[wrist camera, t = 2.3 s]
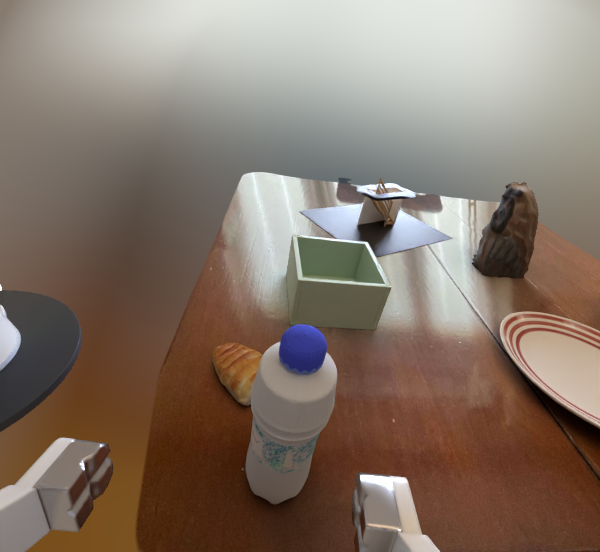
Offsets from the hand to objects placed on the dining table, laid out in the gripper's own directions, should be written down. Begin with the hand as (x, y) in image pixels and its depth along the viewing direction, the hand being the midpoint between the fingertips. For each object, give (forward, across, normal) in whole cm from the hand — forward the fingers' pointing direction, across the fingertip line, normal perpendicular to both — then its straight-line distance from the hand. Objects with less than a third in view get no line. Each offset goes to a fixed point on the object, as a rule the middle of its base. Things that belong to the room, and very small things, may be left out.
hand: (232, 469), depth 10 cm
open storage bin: (+46, -6, +16) cm, 50 cm away
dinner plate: (+38, -48, +21) cm, 64 cm away
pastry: (+27, +5, +19) cm, 33 cm away
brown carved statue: (+72, -48, +15) cm, 88 cm away
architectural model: (+86, -20, +10) cm, 88 cm away
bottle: (+16, 0, +22) cm, 27 cm away
